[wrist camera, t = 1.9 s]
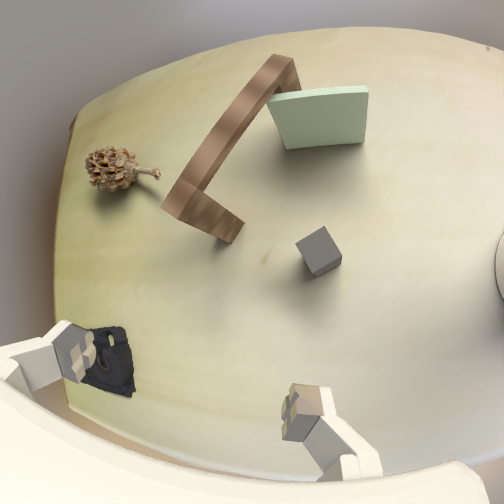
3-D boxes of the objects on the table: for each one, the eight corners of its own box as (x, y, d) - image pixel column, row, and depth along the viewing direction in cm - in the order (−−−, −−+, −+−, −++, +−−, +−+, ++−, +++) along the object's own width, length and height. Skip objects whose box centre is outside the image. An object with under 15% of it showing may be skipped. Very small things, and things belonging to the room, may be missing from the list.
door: (286, 149, 43) (265, 102, 31) (285, 135, 44) (265, 87, 31) (364, 142, 39) (368, 92, 27) (361, 128, 40) (363, 76, 28)
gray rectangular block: (327, 240, 40) (324, 225, 31) (341, 263, 39) (342, 255, 30) (304, 254, 41) (295, 243, 32) (317, 277, 40) (312, 273, 31)
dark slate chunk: (70, 322, 55) (55, 322, 51) (131, 326, 49) (114, 328, 44) (78, 381, 53) (64, 385, 48) (140, 399, 46) (125, 406, 42)
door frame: (295, 117, 44) (273, 53, 29) (309, 123, 43) (292, 58, 28) (217, 234, 45) (160, 207, 30) (231, 244, 44) (177, 219, 29)
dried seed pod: (100, 196, 56) (69, 183, 47) (112, 158, 57) (83, 142, 48) (172, 201, 49) (139, 183, 40) (186, 154, 50) (157, 130, 41)
